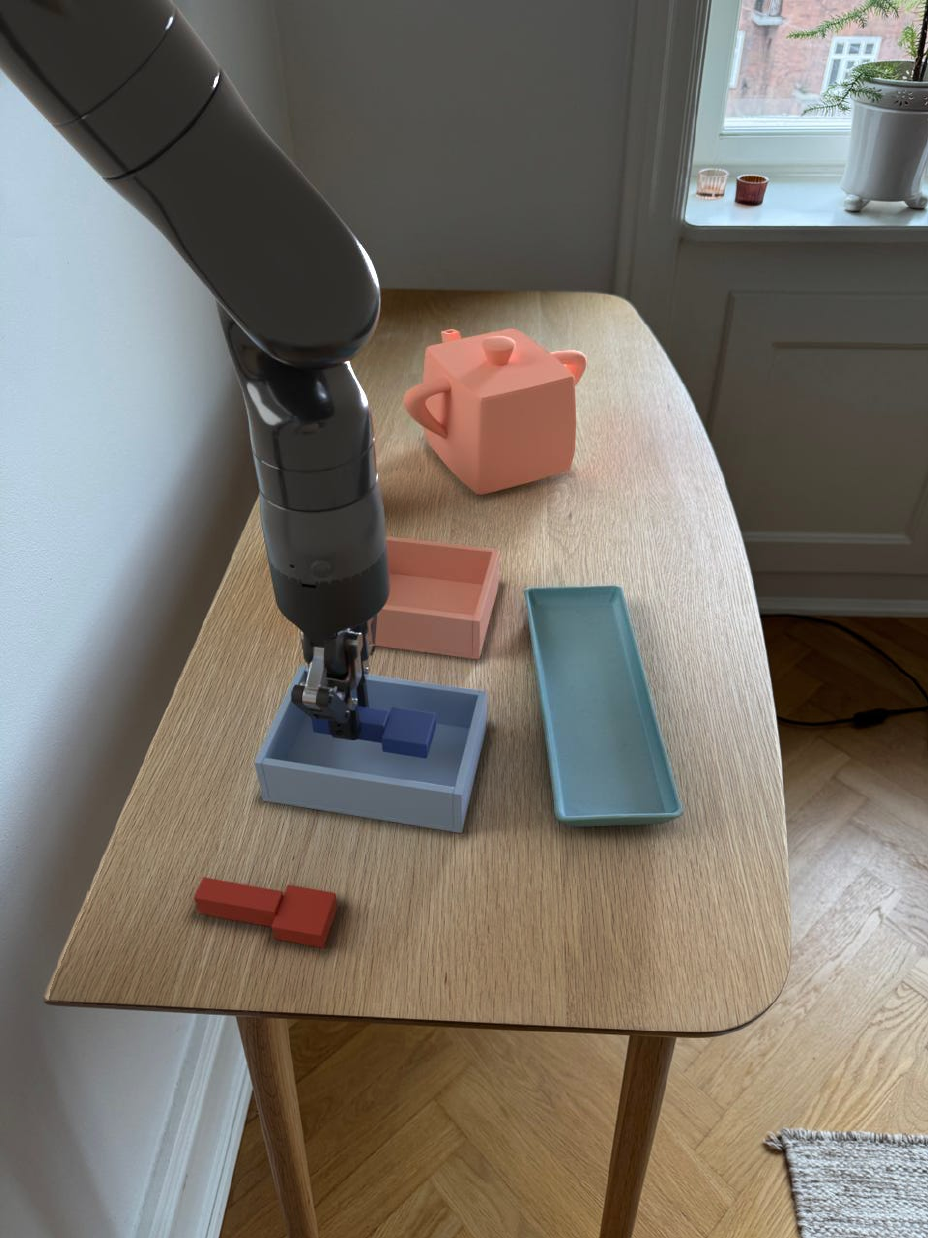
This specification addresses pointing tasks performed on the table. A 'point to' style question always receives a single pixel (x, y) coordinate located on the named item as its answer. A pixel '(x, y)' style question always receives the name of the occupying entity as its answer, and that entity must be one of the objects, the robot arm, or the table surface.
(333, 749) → the blue bin
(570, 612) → the rectangular tray
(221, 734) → the table surface
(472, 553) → the red bin
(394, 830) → the table surface
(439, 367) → the teapot
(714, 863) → the table surface
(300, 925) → the red mallet block
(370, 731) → the blue stepped block
